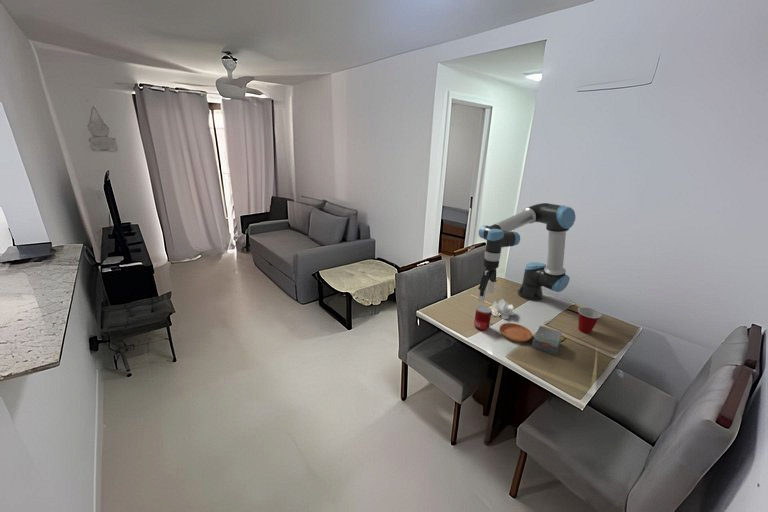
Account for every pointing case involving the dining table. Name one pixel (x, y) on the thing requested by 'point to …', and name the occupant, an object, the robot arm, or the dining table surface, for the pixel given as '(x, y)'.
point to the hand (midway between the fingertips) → (485, 296)
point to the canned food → (482, 317)
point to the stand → (547, 340)
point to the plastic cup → (587, 319)
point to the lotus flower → (502, 309)
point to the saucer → (515, 332)
